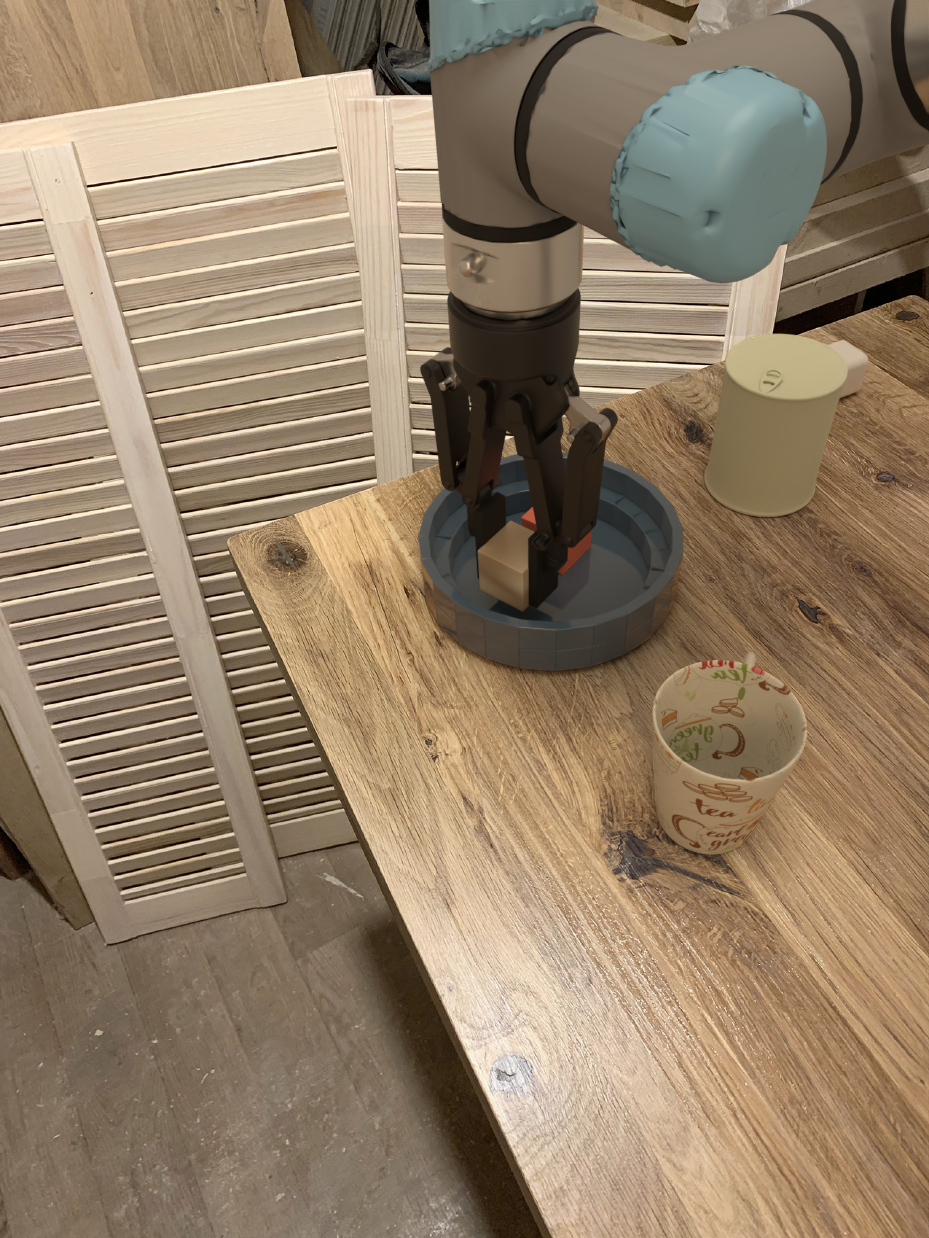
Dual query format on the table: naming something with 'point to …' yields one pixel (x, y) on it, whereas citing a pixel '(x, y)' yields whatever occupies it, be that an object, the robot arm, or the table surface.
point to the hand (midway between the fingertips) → (517, 581)
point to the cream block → (506, 566)
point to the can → (773, 423)
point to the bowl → (560, 577)
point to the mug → (722, 751)
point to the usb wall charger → (851, 366)
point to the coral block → (573, 553)
